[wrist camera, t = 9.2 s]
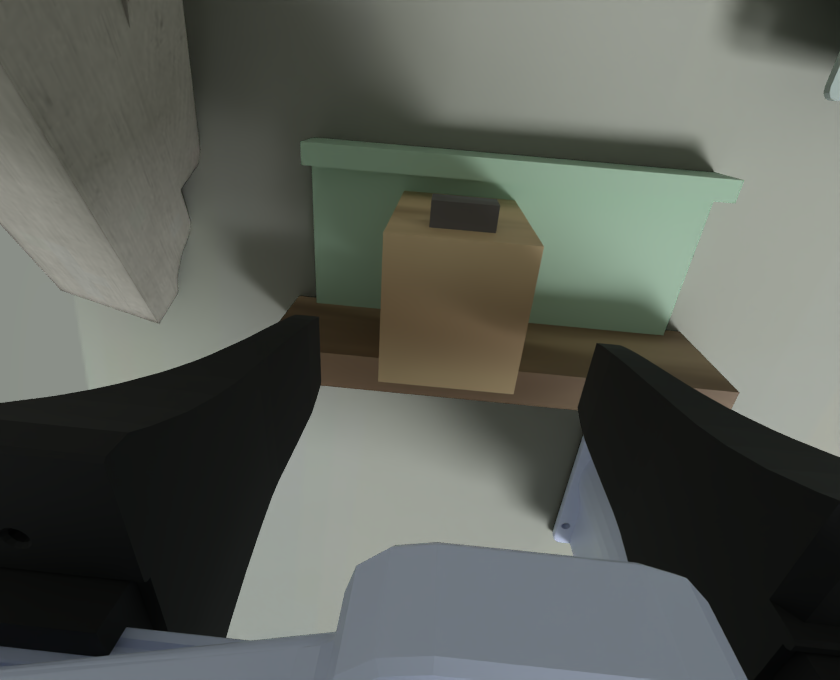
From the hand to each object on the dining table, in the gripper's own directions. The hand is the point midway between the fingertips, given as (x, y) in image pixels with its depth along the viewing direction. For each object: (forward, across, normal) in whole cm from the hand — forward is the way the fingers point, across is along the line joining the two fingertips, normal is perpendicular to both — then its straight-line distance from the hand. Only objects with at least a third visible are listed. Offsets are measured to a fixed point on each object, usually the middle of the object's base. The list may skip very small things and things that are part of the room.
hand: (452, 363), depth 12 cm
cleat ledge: (+9, -2, -1) cm, 10 cm away
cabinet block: (+9, 0, 0) cm, 9 cm away
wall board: (+9, -2, +3) cm, 10 cm away
